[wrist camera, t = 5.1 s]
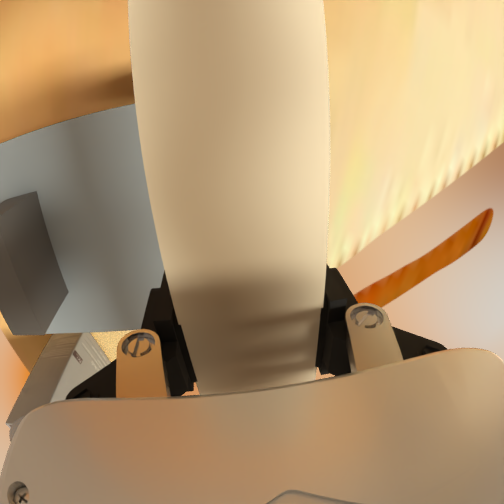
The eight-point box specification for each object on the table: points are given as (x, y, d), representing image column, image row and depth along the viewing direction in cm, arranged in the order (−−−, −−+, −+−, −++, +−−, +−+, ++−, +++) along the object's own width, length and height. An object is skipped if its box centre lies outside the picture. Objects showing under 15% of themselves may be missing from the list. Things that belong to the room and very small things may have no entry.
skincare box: (118, 368, 37) (98, 471, 23) (78, 375, 37) (52, 468, 23) (85, 322, 33) (44, 430, 19) (45, 332, 33) (2, 428, 19)
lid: (288, 88, 19) (328, 83, 12) (293, 292, 26) (320, 356, 19) (-31, 158, 17) (-89, 185, 10) (23, 317, 24) (-8, 371, 17)
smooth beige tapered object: (277, -40, 7) (309, -94, 3) (288, 422, 18) (299, 473, 15) (157, -31, 7) (130, -84, 3) (228, 430, 18) (232, 482, 15)
